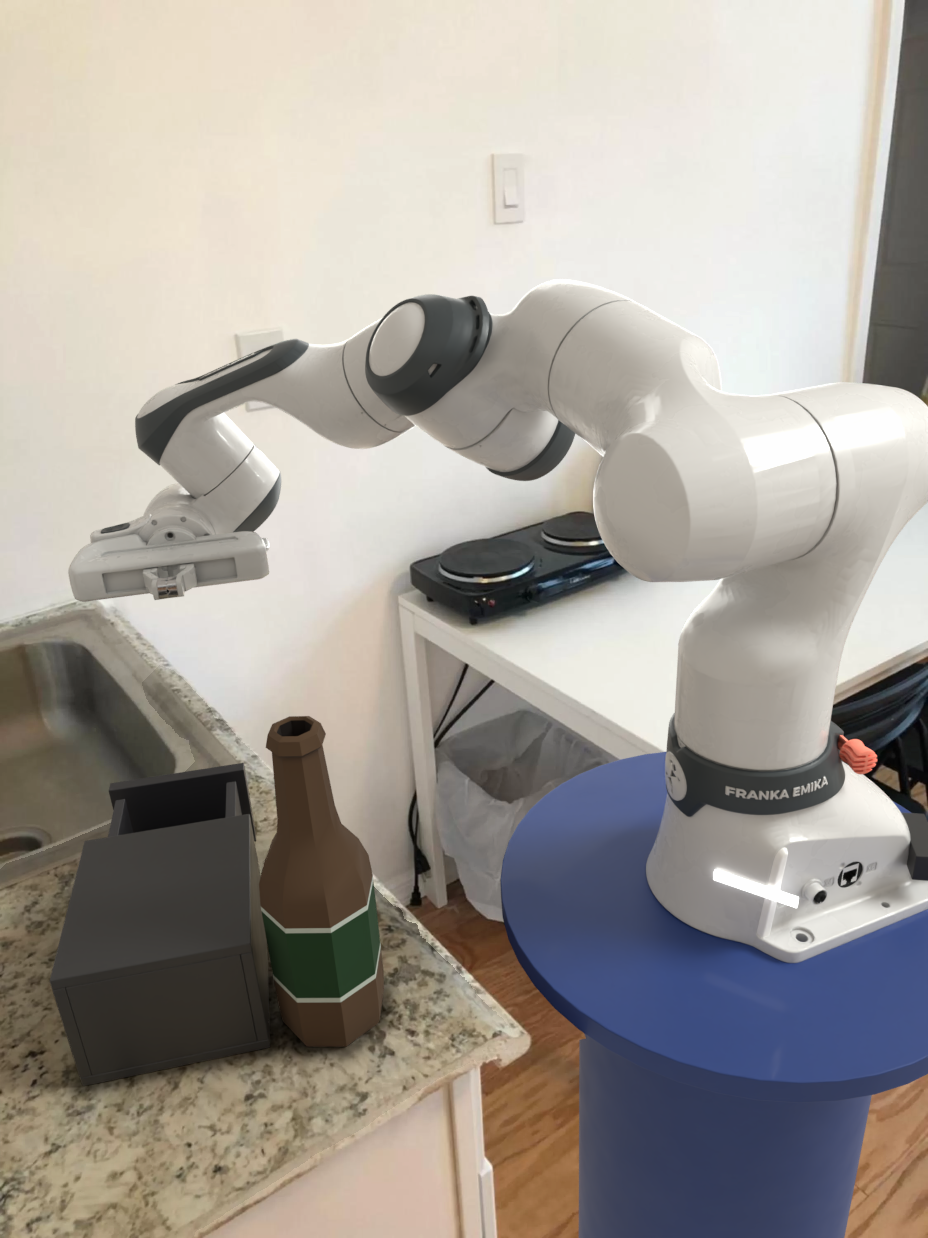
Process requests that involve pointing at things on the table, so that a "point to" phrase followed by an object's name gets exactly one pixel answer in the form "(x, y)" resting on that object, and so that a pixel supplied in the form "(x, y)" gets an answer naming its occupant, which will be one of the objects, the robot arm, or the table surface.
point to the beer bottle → (318, 900)
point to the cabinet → (164, 951)
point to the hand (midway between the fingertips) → (167, 591)
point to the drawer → (179, 799)
